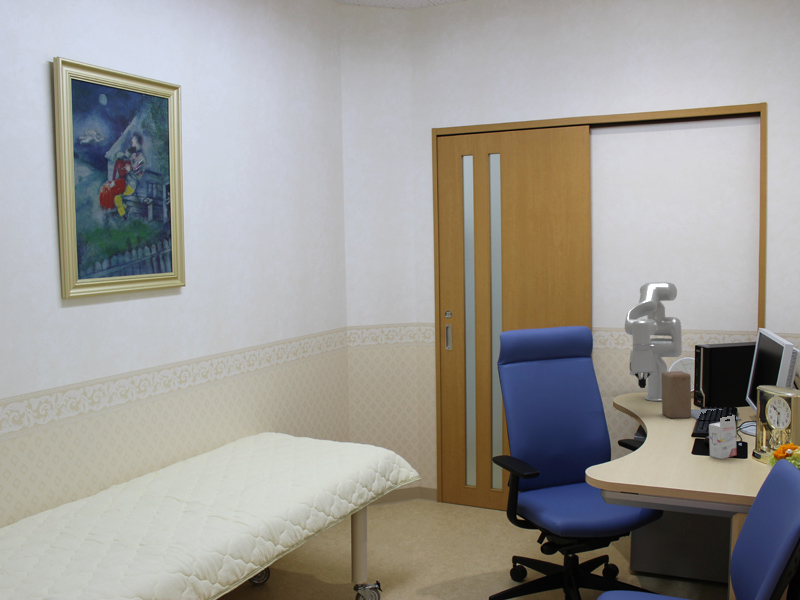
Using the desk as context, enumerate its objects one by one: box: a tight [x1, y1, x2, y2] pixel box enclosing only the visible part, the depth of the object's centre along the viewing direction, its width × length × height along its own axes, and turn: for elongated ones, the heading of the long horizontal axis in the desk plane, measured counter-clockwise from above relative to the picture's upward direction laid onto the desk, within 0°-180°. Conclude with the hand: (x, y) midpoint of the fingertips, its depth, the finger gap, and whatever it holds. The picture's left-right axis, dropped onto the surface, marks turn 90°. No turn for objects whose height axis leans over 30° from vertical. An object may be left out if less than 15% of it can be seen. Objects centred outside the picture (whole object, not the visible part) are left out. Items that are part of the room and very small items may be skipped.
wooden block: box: [661, 370, 692, 419], centre depth 304 cm, size 10×10×20 cm
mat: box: [690, 408, 742, 421], centre depth 304 cm, size 22×18×1 cm
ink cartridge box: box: [708, 414, 737, 460], centre depth 239 cm, size 9×5×15 cm, turn 117°
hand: (642, 387), depth 305 cm, fingers closed
